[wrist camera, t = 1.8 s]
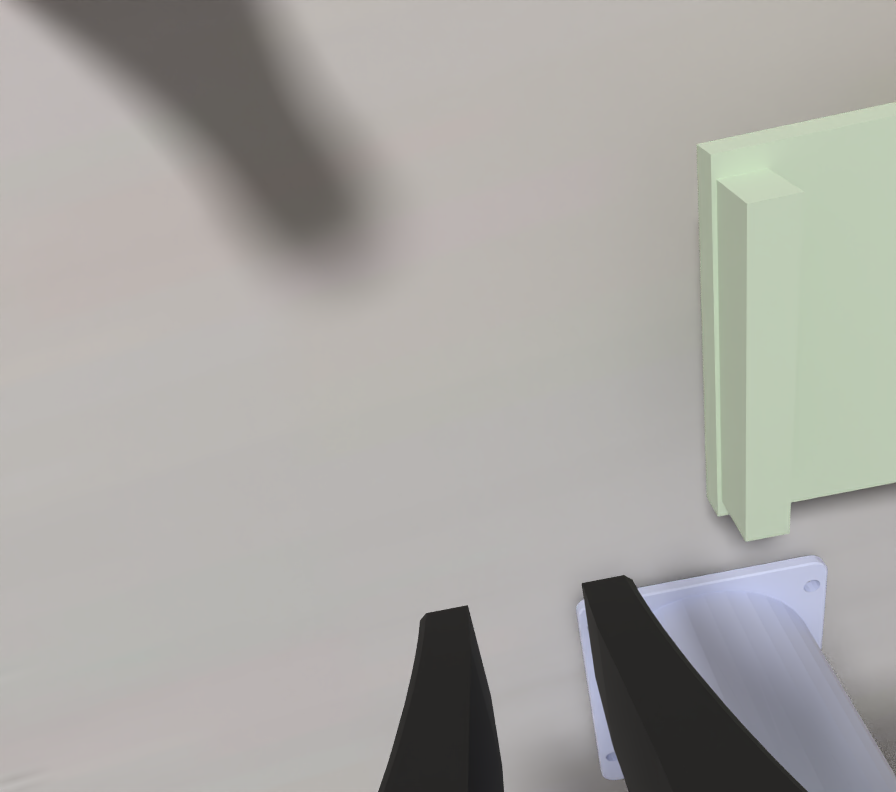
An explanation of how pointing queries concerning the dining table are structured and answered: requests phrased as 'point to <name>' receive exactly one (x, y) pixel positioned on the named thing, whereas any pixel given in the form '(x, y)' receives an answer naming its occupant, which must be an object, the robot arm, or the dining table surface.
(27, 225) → the dining table surface
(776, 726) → the robot arm
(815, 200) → the sage lid
